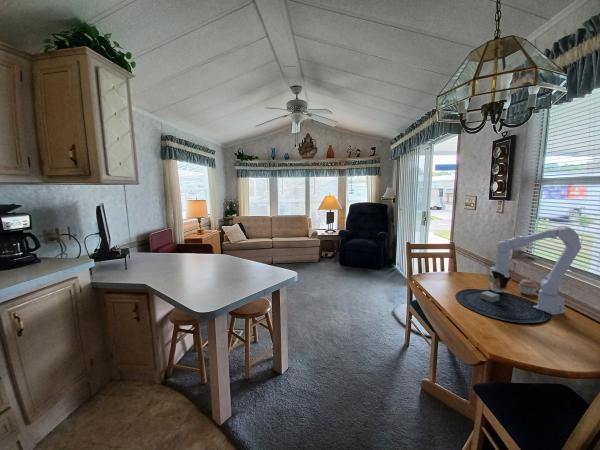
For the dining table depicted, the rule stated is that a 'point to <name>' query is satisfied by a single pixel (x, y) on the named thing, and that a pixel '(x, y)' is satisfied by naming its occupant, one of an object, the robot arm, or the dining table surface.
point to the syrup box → (492, 282)
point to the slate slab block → (489, 296)
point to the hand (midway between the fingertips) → (499, 285)
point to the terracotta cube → (498, 284)
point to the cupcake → (528, 286)
